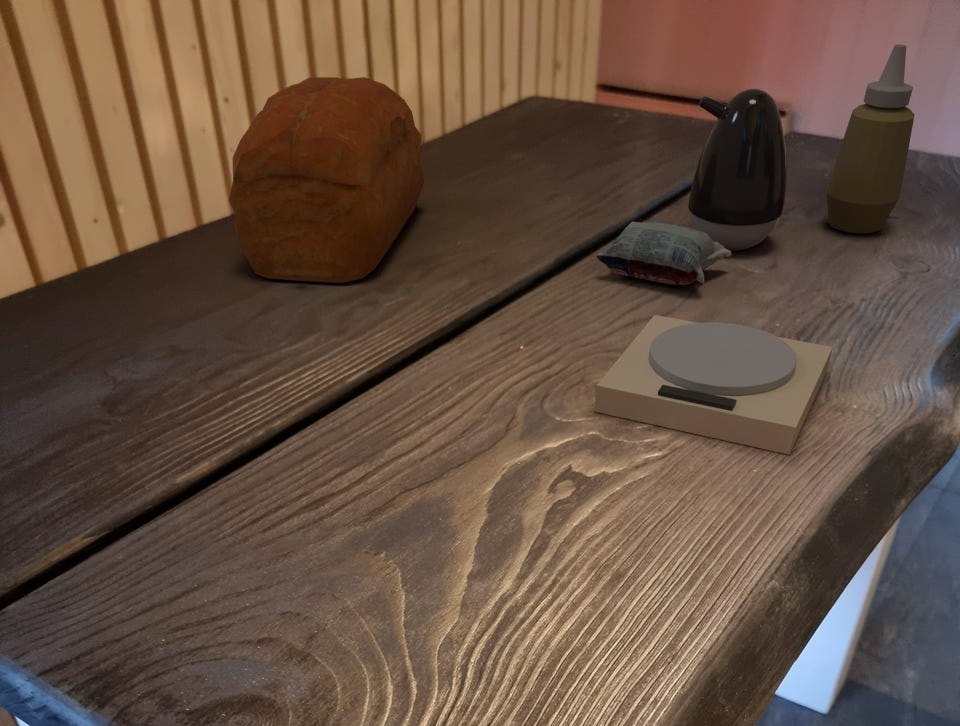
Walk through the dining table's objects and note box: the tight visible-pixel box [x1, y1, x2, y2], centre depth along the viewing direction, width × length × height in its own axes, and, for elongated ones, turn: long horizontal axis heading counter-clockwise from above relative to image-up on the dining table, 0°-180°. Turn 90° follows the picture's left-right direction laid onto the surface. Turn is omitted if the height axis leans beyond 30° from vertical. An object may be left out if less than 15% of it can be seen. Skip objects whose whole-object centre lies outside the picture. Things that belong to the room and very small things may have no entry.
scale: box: [594, 314, 834, 456], centre depth 77 cm, size 16×15×3 cm
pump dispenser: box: [687, 88, 788, 252], centre depth 99 cm, size 10×10×15 cm
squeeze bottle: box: [825, 43, 915, 234], centre depth 101 cm, size 8×8×18 cm
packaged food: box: [595, 221, 733, 286], centre depth 96 cm, size 9×12×5 cm
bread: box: [228, 76, 425, 284], centre depth 101 cm, size 16×27×16 cm, turn 170°
